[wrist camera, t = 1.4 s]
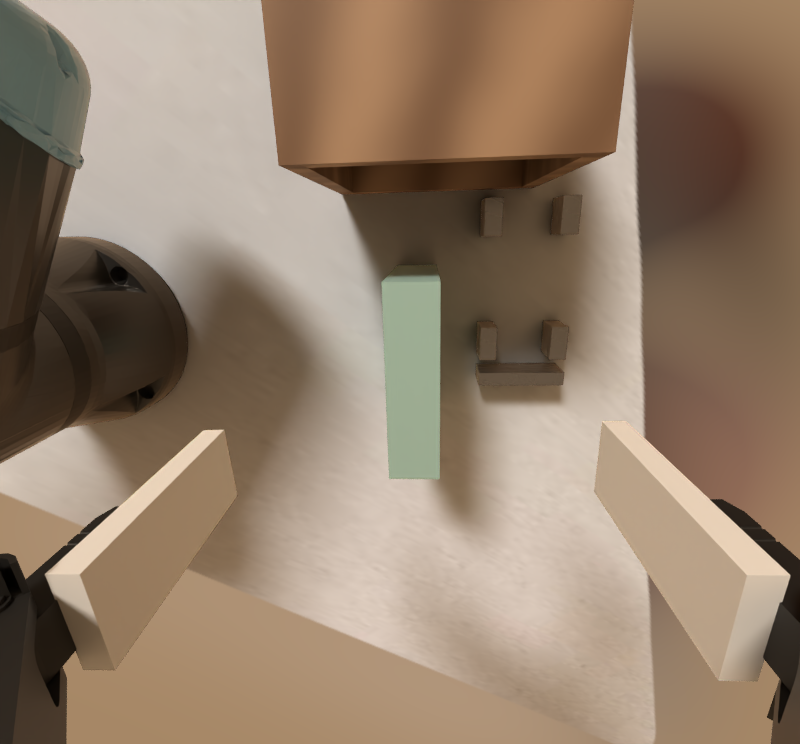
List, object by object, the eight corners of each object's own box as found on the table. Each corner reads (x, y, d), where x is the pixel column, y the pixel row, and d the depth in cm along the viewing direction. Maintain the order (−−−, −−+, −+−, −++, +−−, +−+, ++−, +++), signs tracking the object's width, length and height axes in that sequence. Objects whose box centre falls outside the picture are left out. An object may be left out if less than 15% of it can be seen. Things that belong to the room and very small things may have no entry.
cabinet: (342, 194, 31) (278, 165, 18) (331, 33, 28) (245, -147, 15) (533, 187, 30) (615, 151, 17) (544, 20, 27) (656, -185, 14)
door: (401, 401, 36) (389, 478, 25) (397, 265, 33) (381, 282, 21) (435, 401, 36) (439, 479, 25) (436, 264, 32) (440, 281, 21)
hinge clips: (475, 374, 35) (478, 385, 33) (481, 200, 31) (485, 198, 28) (553, 374, 34) (562, 384, 32) (570, 197, 30) (582, 194, 28)
